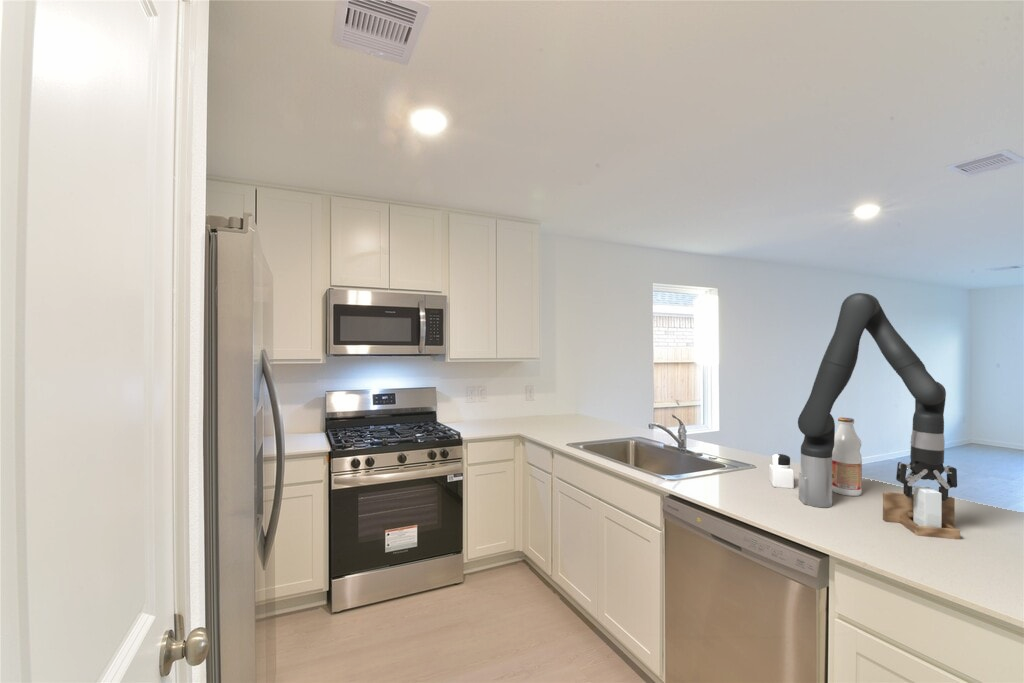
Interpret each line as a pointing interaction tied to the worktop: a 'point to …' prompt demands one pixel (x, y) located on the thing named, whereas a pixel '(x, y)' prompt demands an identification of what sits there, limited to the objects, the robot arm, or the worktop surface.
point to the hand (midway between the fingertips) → (925, 498)
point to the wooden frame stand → (902, 512)
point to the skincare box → (927, 507)
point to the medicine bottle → (781, 472)
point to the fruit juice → (846, 460)
